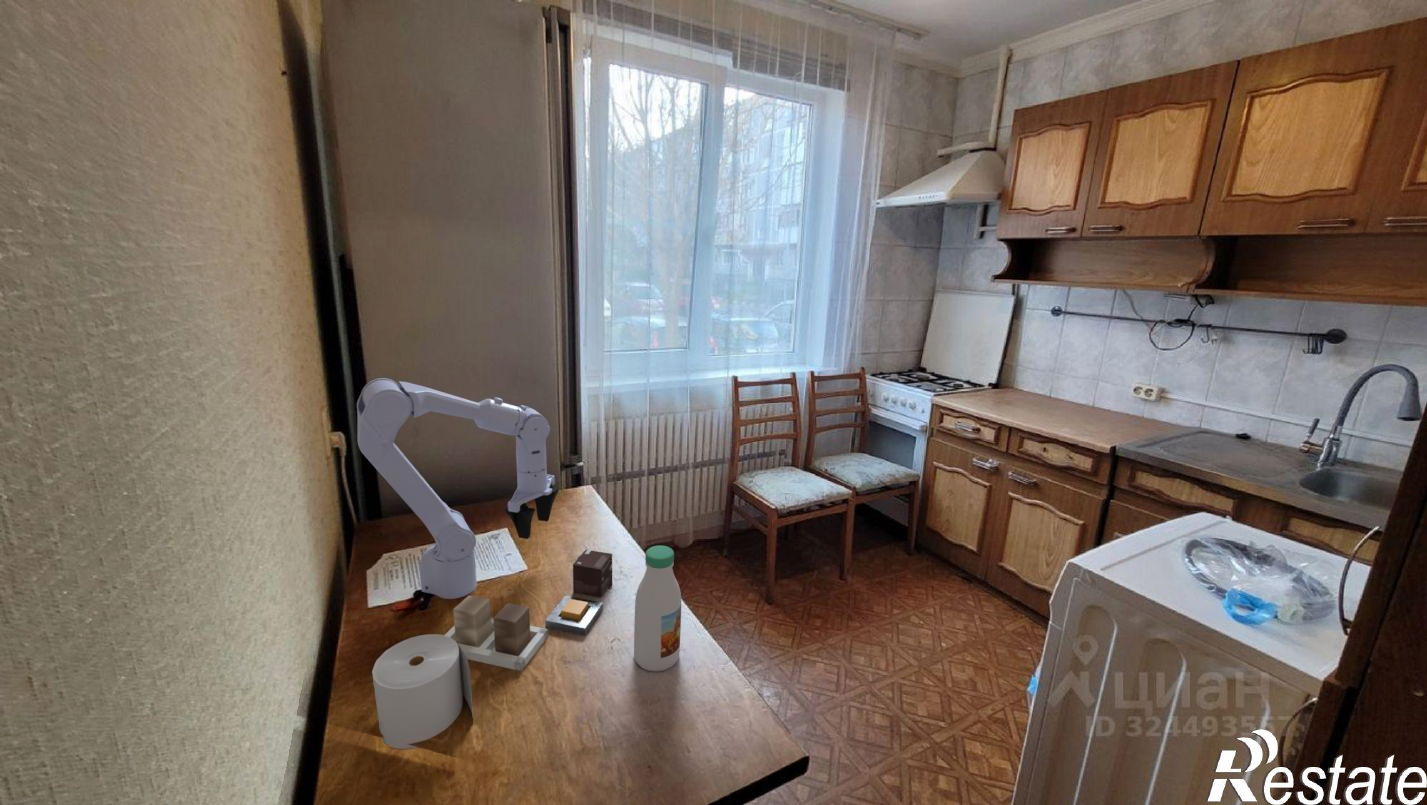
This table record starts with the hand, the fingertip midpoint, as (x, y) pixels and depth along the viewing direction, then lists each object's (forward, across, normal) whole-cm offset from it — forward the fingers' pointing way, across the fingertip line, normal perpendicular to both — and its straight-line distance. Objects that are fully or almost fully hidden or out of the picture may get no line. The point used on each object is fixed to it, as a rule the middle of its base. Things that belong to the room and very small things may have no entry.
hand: (534, 528), depth 113 cm
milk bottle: (+10, -18, -33) cm, 39 cm away
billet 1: (+8, -24, -2) cm, 25 cm away
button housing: (+9, -14, -16) cm, 23 cm away
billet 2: (+8, -24, -10) cm, 27 cm away
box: (+10, -4, -15) cm, 18 cm away
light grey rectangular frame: (+9, -24, -6) cm, 26 cm away
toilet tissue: (+10, -38, -5) cm, 40 cm away
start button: (+9, -14, -16) cm, 23 cm away
